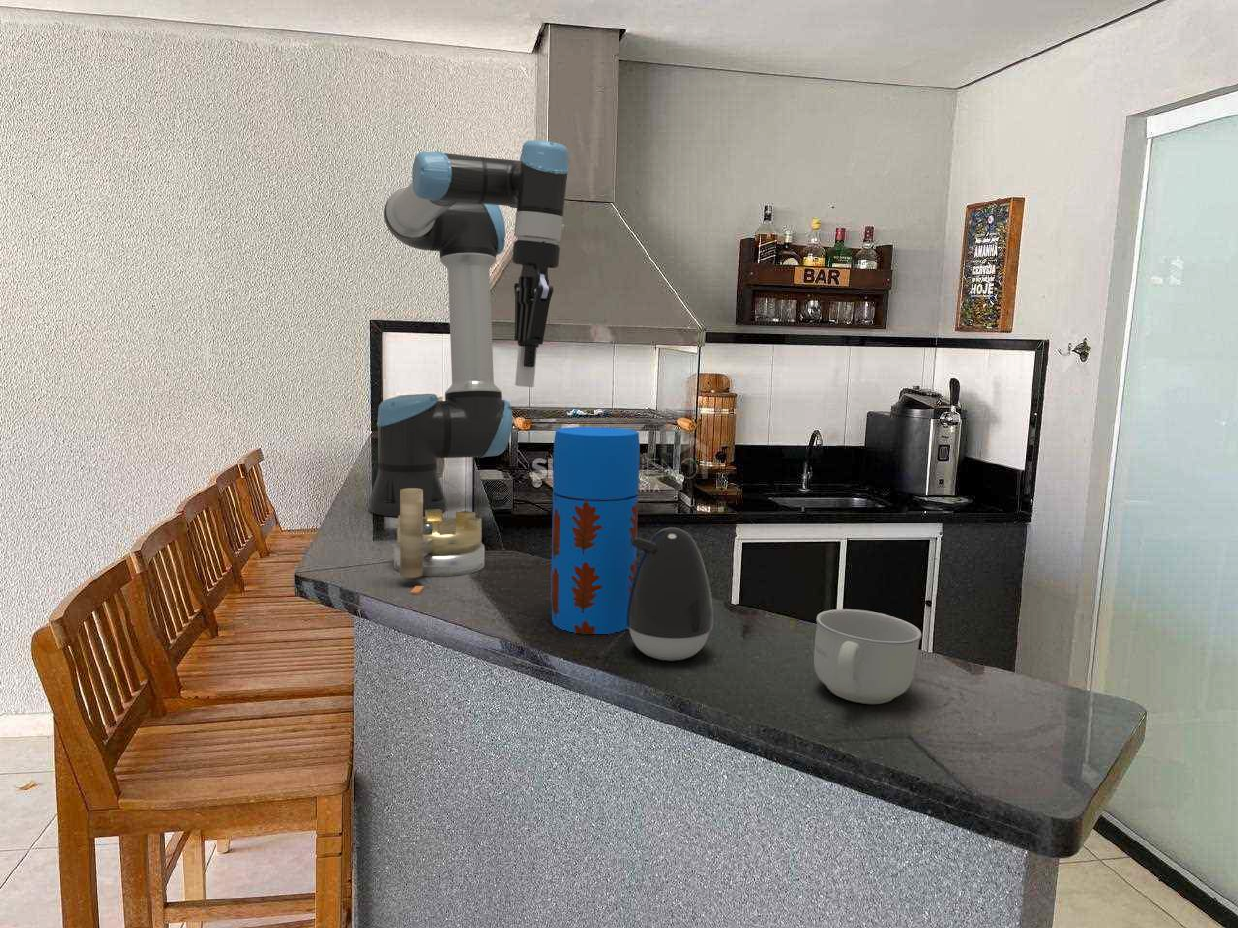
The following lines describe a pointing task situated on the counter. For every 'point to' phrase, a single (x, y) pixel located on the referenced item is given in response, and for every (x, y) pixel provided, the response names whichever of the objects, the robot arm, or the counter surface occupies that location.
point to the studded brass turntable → (431, 533)
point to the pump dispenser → (669, 597)
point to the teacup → (865, 654)
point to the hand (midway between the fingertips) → (524, 386)
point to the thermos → (594, 527)
